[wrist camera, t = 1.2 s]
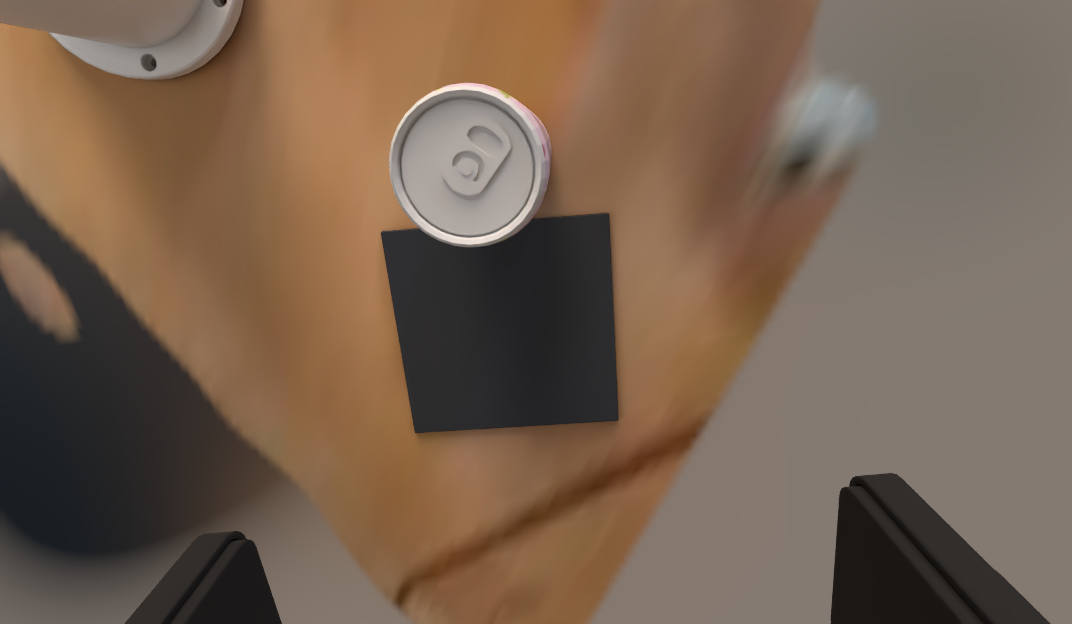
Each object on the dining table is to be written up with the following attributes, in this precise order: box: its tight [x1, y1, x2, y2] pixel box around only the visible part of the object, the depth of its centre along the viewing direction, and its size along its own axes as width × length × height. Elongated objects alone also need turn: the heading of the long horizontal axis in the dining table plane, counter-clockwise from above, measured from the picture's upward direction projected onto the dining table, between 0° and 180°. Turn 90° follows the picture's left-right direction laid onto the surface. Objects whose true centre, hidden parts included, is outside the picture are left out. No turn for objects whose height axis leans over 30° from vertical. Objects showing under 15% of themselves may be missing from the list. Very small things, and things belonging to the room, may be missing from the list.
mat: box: [381, 213, 618, 433], centre depth 36 cm, size 14×14×1 cm
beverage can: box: [389, 83, 551, 247], centre depth 26 cm, size 6×6×15 cm
